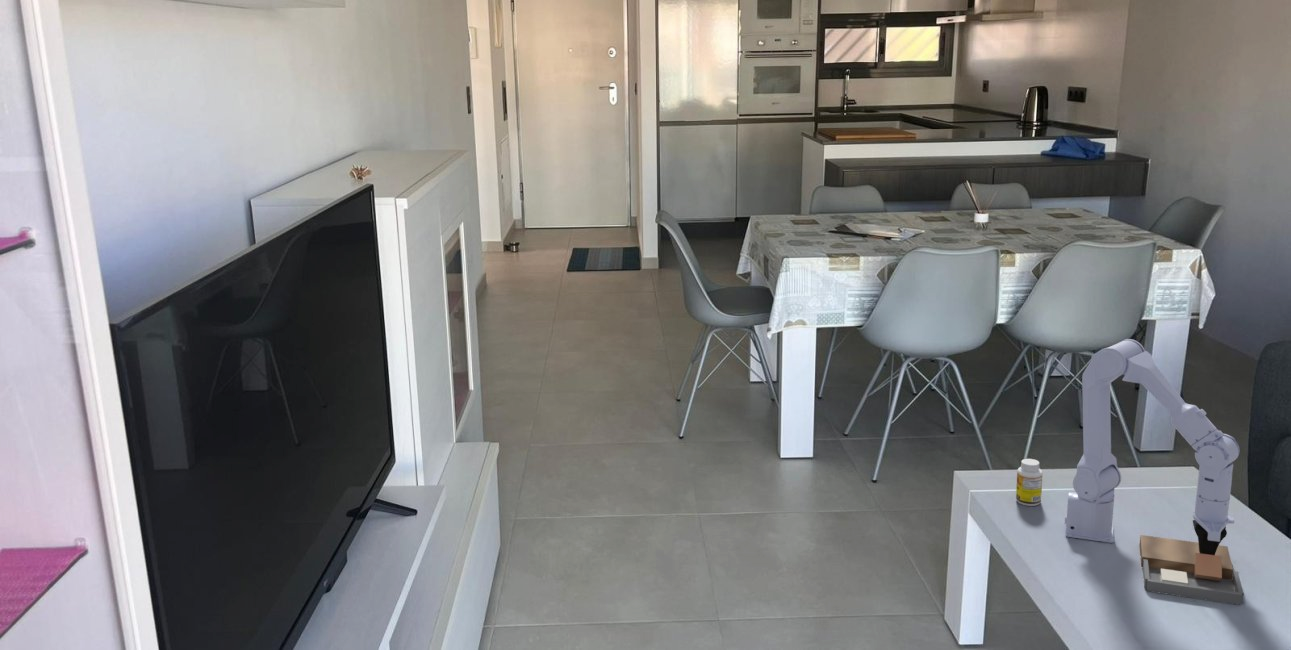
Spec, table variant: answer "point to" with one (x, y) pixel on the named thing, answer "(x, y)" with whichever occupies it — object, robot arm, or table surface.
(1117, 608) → the table surface
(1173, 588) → the box
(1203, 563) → the tile terracotta
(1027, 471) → the supplement bottle
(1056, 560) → the table surface
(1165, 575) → the tile cream
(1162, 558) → the plate
